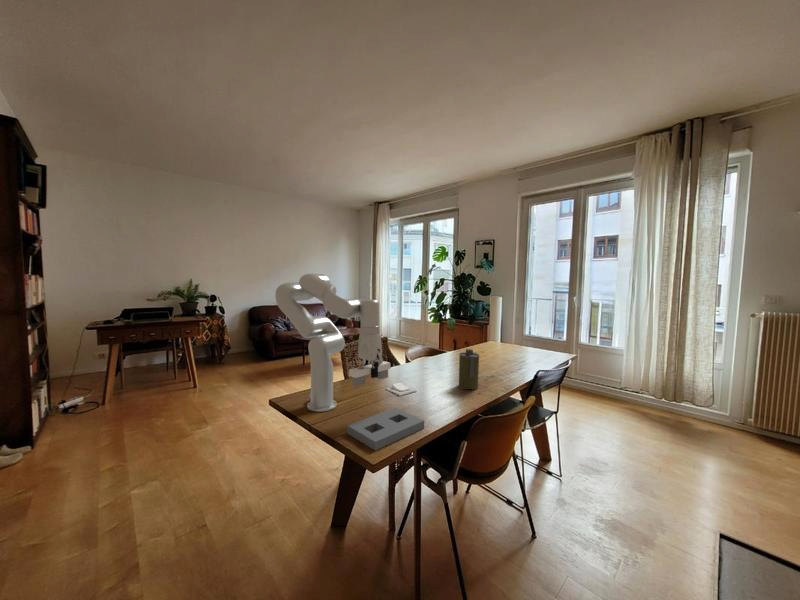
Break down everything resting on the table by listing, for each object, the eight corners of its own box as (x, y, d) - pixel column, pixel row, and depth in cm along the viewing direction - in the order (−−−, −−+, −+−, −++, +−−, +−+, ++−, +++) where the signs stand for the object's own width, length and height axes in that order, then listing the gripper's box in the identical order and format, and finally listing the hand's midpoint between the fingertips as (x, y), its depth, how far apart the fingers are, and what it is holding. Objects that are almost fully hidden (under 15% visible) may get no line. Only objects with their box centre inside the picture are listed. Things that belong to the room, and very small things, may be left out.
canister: (456, 383, 176) (457, 347, 175) (475, 383, 177) (476, 347, 175) (461, 390, 165) (462, 352, 164) (481, 390, 166) (482, 352, 165)
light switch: (401, 379, 172) (416, 384, 162) (401, 387, 172) (416, 393, 162) (384, 383, 166) (399, 389, 156) (384, 391, 166) (399, 397, 156)
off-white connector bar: (349, 384, 124) (349, 368, 124) (384, 375, 137) (383, 360, 137) (355, 387, 121) (355, 370, 121) (390, 377, 134) (390, 362, 134)
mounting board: (347, 433, 118) (347, 425, 118) (395, 414, 134) (395, 407, 134) (375, 450, 106) (375, 441, 106) (424, 428, 123) (424, 420, 123)
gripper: (349, 329, 131) (350, 374, 132) (376, 334, 119) (377, 382, 120) (364, 327, 137) (364, 370, 138) (391, 331, 125) (391, 378, 126)
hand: (370, 375), depth 129 cm, fingers closed on off-white connector bar, 4 cm apart
